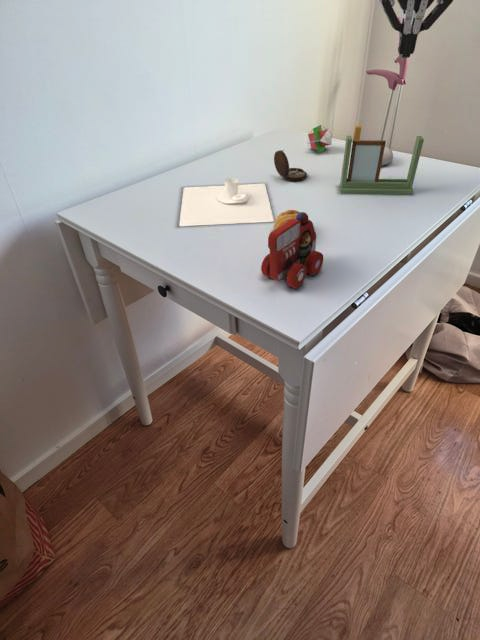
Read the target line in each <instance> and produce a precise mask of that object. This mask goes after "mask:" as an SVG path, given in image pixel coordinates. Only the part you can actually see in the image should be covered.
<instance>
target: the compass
mask: <svg viewBox="0 0 480 640" xmlns="http://www.w3.org/2000/svg"><path fill="white" fill-rule="evenodd" d="M284 151H285V149H284V150H281V149H279V150H277V151H275V152H274V156H273V163H274V168H275V170H276V172H277V173H278V175H279V176H280V177H282V178H283V179H284V180H286V181H290V182H300V181H304V179H306V178H307V176H308V174H307V172H306V171H305V170H304V169H303V168H300V167H290V164H289V160H288V159H289V158H288V156H287V155H286V153H285V152H284Z"/></svg>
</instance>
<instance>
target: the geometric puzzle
mask: <svg viewBox="0 0 480 640" xmlns="http://www.w3.org/2000/svg"><path fill="white" fill-rule="evenodd" d="M322 127H323V128H325V126H324V125H322V124H320V125H318V126H316V127H313V128H312V130H310V132H309V133H307V137H308V139H307V141H306V142H307V143H306V145H307V146H308V147H310V149H311V150H315V149H316V151H317V154H318V155H319V154H320V153H322V152H325V151H326V150H327V149H328V148H329V147H330V146H332V145H333V144H332V143H333V135H332V133H331V131H330V130H329V128H325V129H323V128H322Z"/></svg>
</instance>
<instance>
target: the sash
mask: <svg viewBox="0 0 480 640" xmlns="http://www.w3.org/2000/svg"><path fill="white" fill-rule="evenodd" d="M353 131H354V132H353V137H352V144H351V151H350V159H349V166H348V173H347V182H378V180H379V179H380V174H381V169H382V166H381V164H382V159H383V154H384V148H385V146H386V140H376V139H375V140H371V139H369V140H362V139H361V133H362V125H354V130H353Z"/></svg>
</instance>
